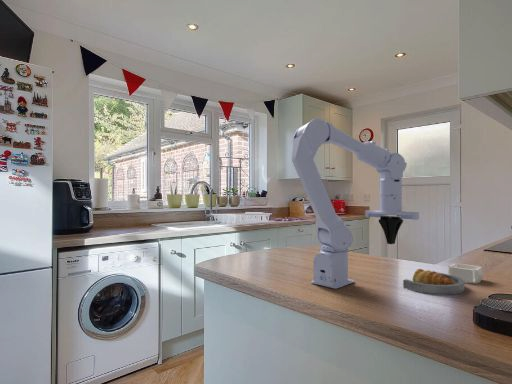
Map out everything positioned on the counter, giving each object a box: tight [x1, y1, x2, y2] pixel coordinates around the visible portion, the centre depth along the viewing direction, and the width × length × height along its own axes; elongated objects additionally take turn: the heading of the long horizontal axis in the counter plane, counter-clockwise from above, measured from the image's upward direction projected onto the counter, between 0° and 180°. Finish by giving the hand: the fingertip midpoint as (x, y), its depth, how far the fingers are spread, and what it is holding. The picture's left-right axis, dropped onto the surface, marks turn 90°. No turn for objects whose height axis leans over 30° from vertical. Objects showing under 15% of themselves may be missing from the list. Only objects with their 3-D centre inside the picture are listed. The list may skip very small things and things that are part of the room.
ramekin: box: [448, 263, 483, 284], centre depth 90 cm, size 7×7×4 cm
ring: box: [402, 271, 465, 296], centre depth 83 cm, size 15×12×2 cm
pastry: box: [412, 268, 455, 285], centre depth 85 cm, size 9×7×4 cm
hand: (391, 243), depth 92 cm, fingers closed
